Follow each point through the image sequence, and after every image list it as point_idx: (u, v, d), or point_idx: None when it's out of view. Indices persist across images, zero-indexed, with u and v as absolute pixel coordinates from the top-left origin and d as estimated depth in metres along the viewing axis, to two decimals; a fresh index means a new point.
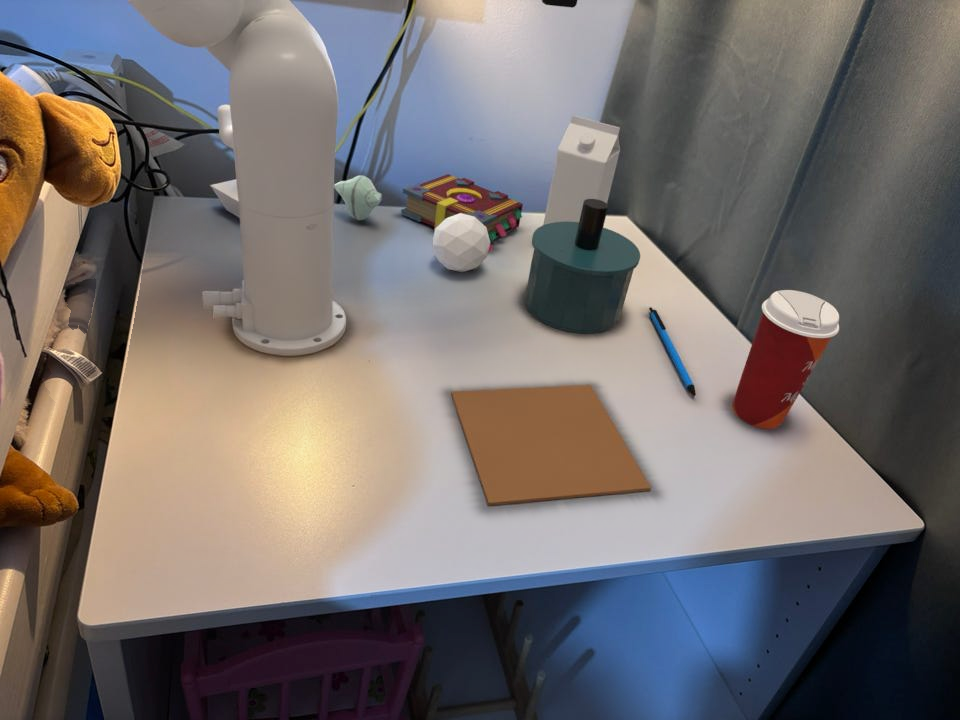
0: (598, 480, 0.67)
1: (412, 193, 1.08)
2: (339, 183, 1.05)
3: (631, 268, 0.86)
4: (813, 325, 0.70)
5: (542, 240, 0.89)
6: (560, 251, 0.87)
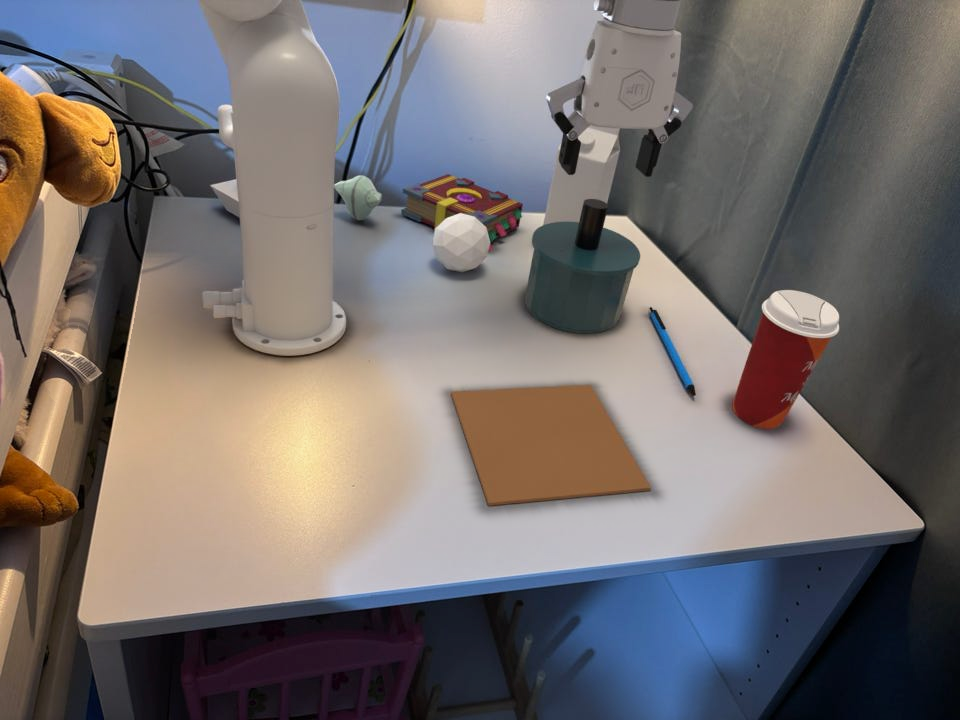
0: (598, 480, 0.67)
1: (412, 193, 1.08)
2: (339, 183, 1.05)
3: (631, 268, 0.86)
4: (813, 325, 0.70)
5: (542, 240, 0.89)
6: (560, 251, 0.87)
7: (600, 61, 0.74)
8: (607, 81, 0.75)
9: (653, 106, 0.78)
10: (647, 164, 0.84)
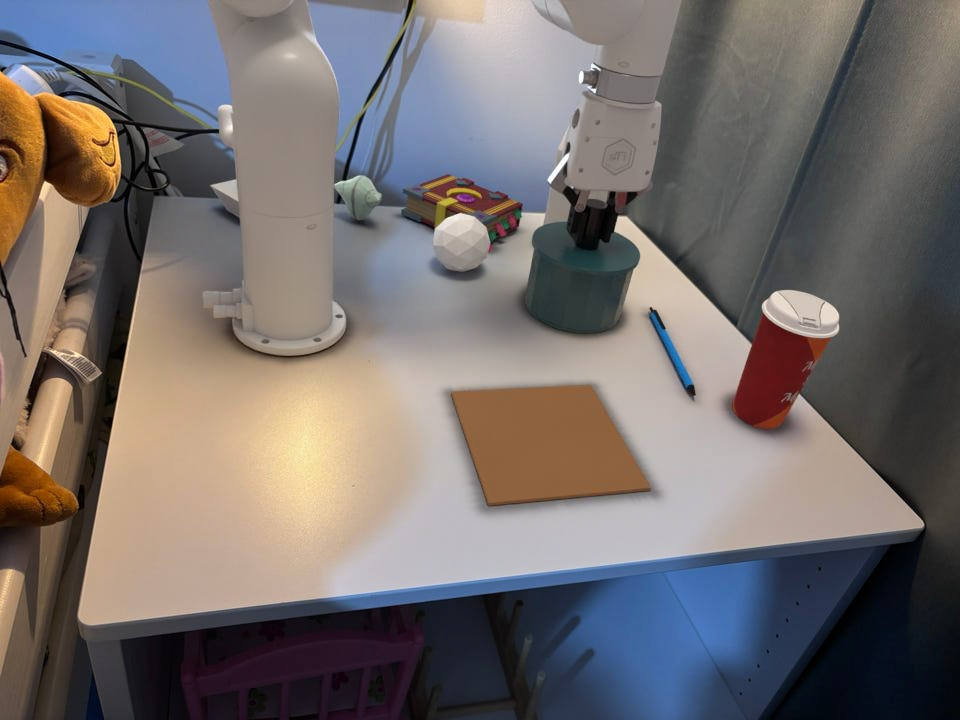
0: (598, 480, 0.67)
1: (412, 193, 1.08)
2: (339, 183, 1.05)
3: (631, 268, 0.86)
4: (813, 325, 0.70)
5: (542, 240, 0.89)
6: (560, 251, 0.87)
7: (584, 131, 0.78)
8: (591, 149, 0.79)
9: (635, 171, 0.82)
10: (605, 231, 0.88)
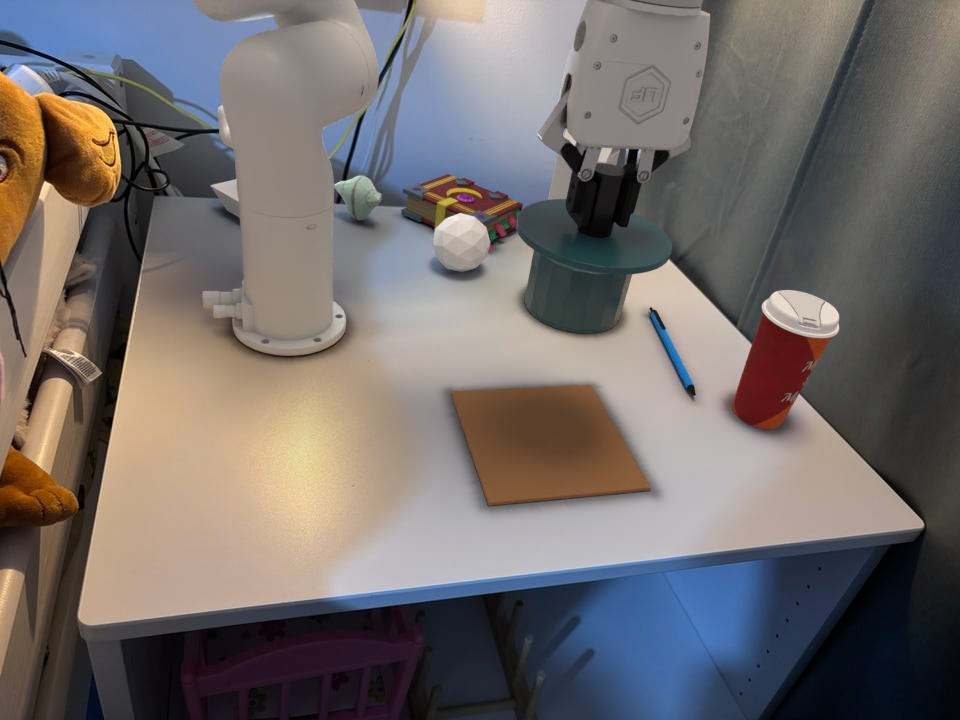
0: (598, 480, 0.67)
1: (412, 193, 1.08)
2: (339, 183, 1.05)
3: (661, 264, 0.59)
4: (813, 325, 0.70)
5: (530, 224, 0.62)
6: (557, 239, 0.60)
7: (593, 52, 0.51)
8: (603, 82, 0.52)
9: (668, 118, 0.55)
10: (622, 211, 0.60)
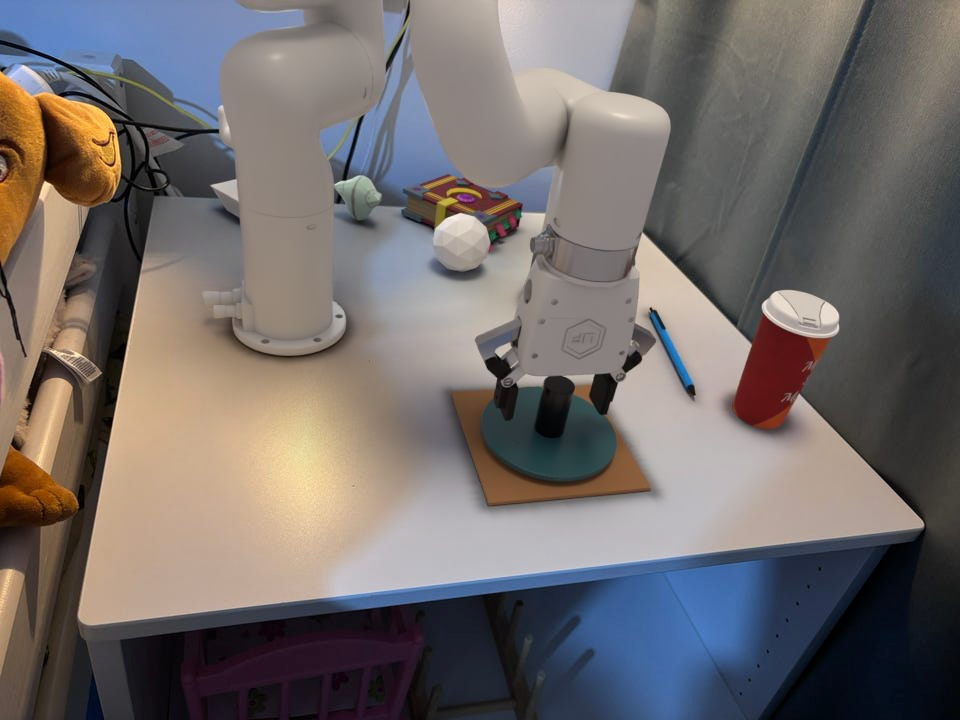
0: (598, 480, 0.67)
1: (412, 193, 1.08)
2: (339, 183, 1.05)
3: (604, 467, 0.68)
4: (813, 325, 0.70)
5: (492, 424, 0.70)
6: (514, 443, 0.68)
7: (538, 312, 0.59)
8: (547, 332, 0.61)
9: (606, 353, 0.63)
10: (601, 402, 0.69)
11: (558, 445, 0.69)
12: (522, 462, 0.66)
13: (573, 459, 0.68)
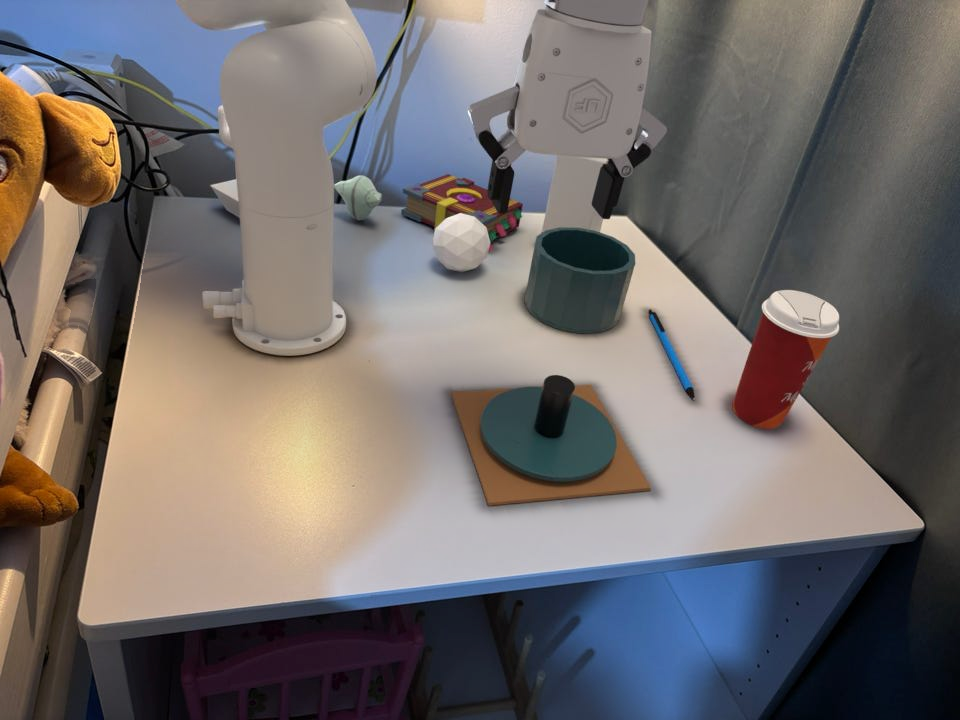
0: (598, 480, 0.67)
1: (412, 193, 1.08)
2: (339, 183, 1.05)
3: (604, 467, 0.68)
4: (813, 325, 0.70)
5: (492, 424, 0.70)
6: (514, 443, 0.68)
7: (538, 64, 0.54)
8: (547, 92, 0.55)
9: (611, 128, 0.58)
10: (605, 203, 0.63)
11: (558, 445, 0.69)
12: (522, 462, 0.66)
13: (573, 459, 0.68)
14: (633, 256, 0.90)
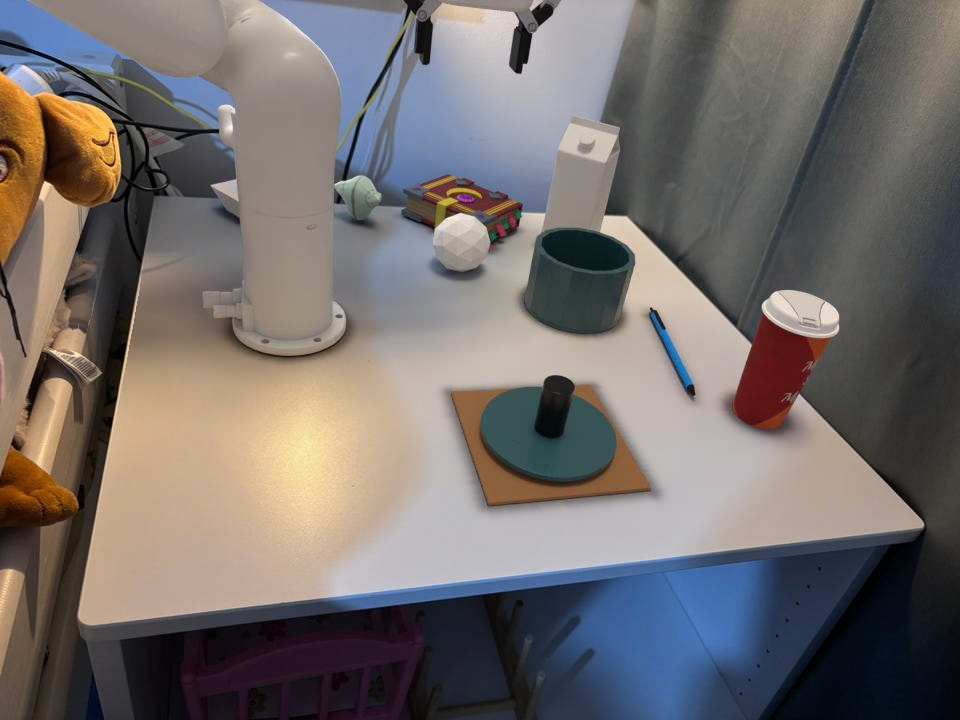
0: (598, 480, 0.67)
1: (412, 193, 1.08)
2: (339, 183, 1.05)
3: (604, 467, 0.68)
4: (813, 325, 0.70)
5: (492, 424, 0.70)
6: (514, 443, 0.68)
7: None
8: None
9: None
10: (516, 58, 0.73)
11: (558, 445, 0.69)
12: (522, 462, 0.66)
13: (573, 459, 0.68)
14: (633, 256, 0.90)
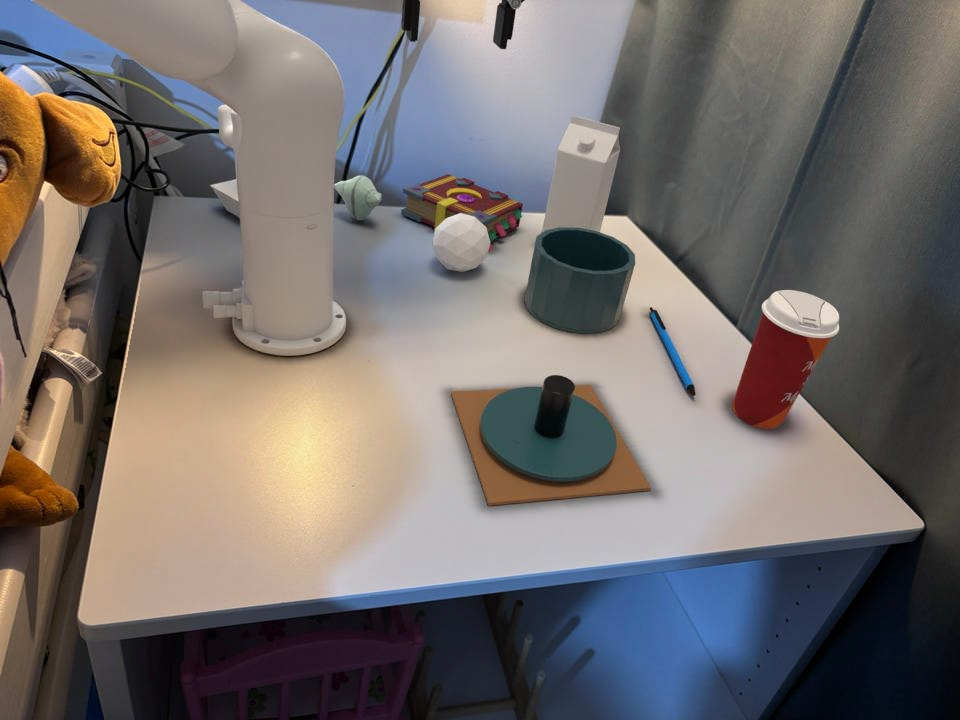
0: (598, 480, 0.67)
1: (412, 193, 1.08)
2: (339, 183, 1.05)
3: (604, 467, 0.68)
4: (813, 325, 0.70)
5: (492, 424, 0.70)
6: (514, 443, 0.68)
7: None
8: None
9: None
10: (501, 34, 0.76)
11: (558, 445, 0.69)
12: (522, 462, 0.66)
13: (573, 459, 0.68)
14: (633, 256, 0.90)
